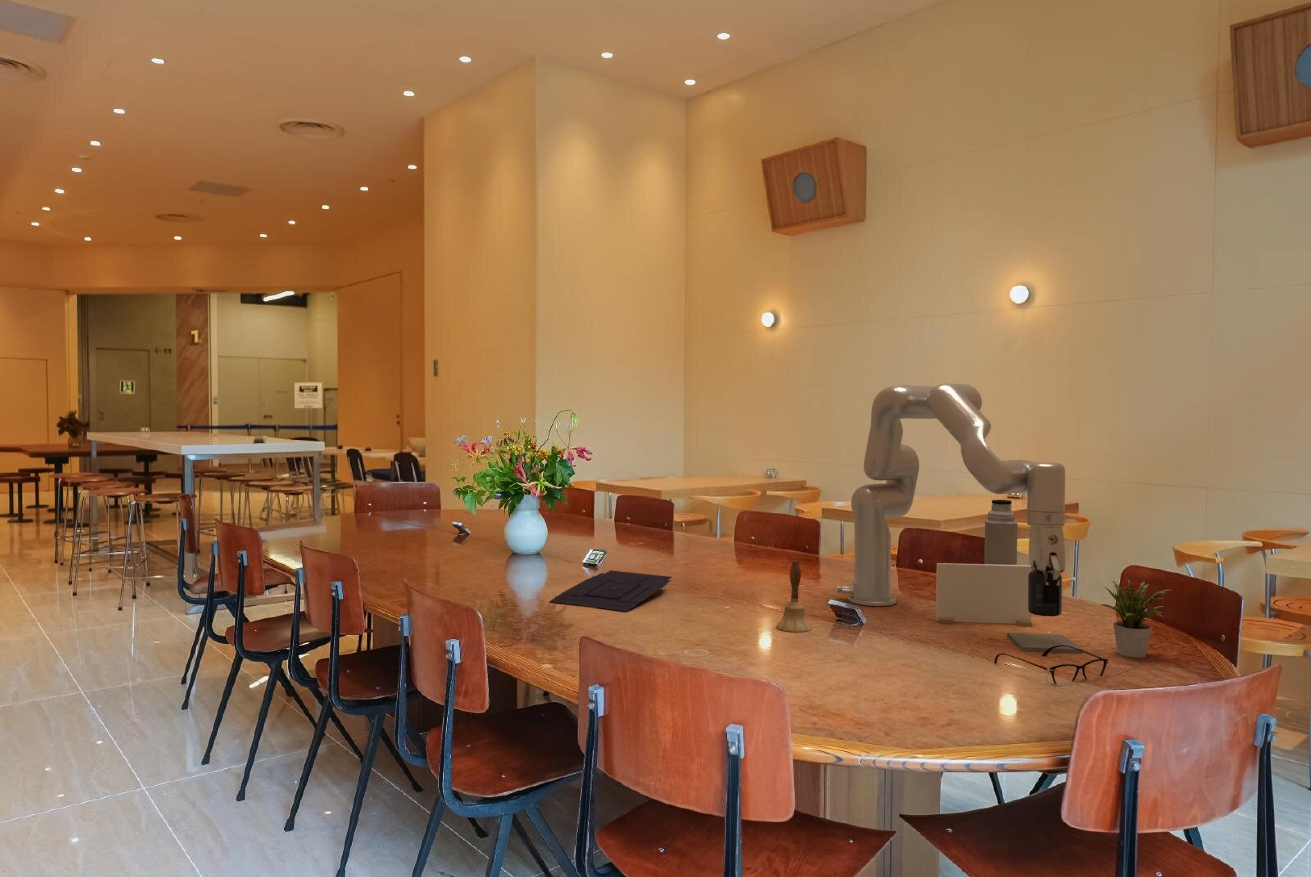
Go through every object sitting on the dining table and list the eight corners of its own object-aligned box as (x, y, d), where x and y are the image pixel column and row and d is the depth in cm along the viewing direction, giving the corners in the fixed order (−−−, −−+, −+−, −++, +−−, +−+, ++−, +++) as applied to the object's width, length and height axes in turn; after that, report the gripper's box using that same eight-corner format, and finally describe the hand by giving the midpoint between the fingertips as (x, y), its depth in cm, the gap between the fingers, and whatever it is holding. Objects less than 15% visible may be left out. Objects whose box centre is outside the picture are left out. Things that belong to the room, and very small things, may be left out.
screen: (939, 623, 205) (939, 565, 205) (934, 617, 211) (934, 561, 211) (1034, 626, 203) (1035, 568, 202) (1026, 620, 208) (1027, 563, 208)
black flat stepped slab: (679, 586, 242) (678, 574, 241) (627, 622, 215) (627, 608, 215) (605, 578, 253) (604, 566, 252) (548, 611, 227) (547, 598, 226)
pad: (1023, 650, 182) (1023, 647, 182) (1007, 636, 194) (1007, 632, 194) (1082, 653, 180) (1082, 649, 180) (1062, 638, 192) (1062, 634, 192)
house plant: (1172, 670, 168) (1174, 588, 168) (1094, 659, 176) (1095, 581, 175) (1173, 653, 181) (1175, 576, 180) (1100, 643, 188) (1101, 570, 187)
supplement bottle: (1068, 615, 185) (1069, 560, 185) (1047, 618, 182) (1048, 562, 182) (1041, 608, 191) (1042, 555, 191) (1020, 612, 188) (1021, 558, 188)
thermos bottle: (979, 601, 229) (981, 498, 228) (1010, 602, 228) (1012, 498, 227) (988, 608, 221) (990, 501, 220) (1020, 609, 220) (1022, 501, 219)
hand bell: (815, 626, 203) (816, 559, 202) (806, 634, 195) (807, 565, 195) (782, 622, 206) (782, 556, 206) (771, 630, 199) (772, 562, 198)
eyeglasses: (1049, 688, 158) (1050, 667, 158) (986, 665, 173) (987, 645, 173) (1113, 678, 165) (1113, 657, 165) (1046, 656, 179) (1047, 637, 179)
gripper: (1078, 524, 177) (1077, 609, 178) (1050, 514, 194) (1049, 591, 195) (1040, 523, 178) (1039, 608, 178) (1015, 514, 195) (1014, 591, 196)
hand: (1044, 598), depth 187 cm, fingers closed on supplement bottle, 6 cm apart
